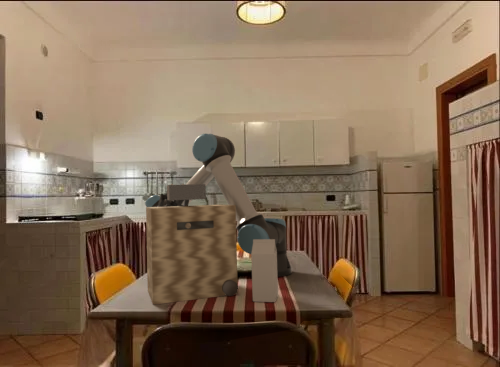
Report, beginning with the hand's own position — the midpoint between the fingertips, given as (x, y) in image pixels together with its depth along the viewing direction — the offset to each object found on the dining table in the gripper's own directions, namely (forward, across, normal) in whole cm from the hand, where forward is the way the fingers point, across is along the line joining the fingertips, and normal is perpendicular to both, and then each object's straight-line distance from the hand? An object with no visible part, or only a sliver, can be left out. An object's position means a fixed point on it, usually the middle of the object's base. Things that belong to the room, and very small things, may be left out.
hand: (177, 186), depth 139 cm
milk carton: (+7, -22, -48) cm, 53 cm away
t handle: (+1, 0, -6) cm, 6 cm away
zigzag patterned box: (-9, -2, -38) cm, 39 cm away
